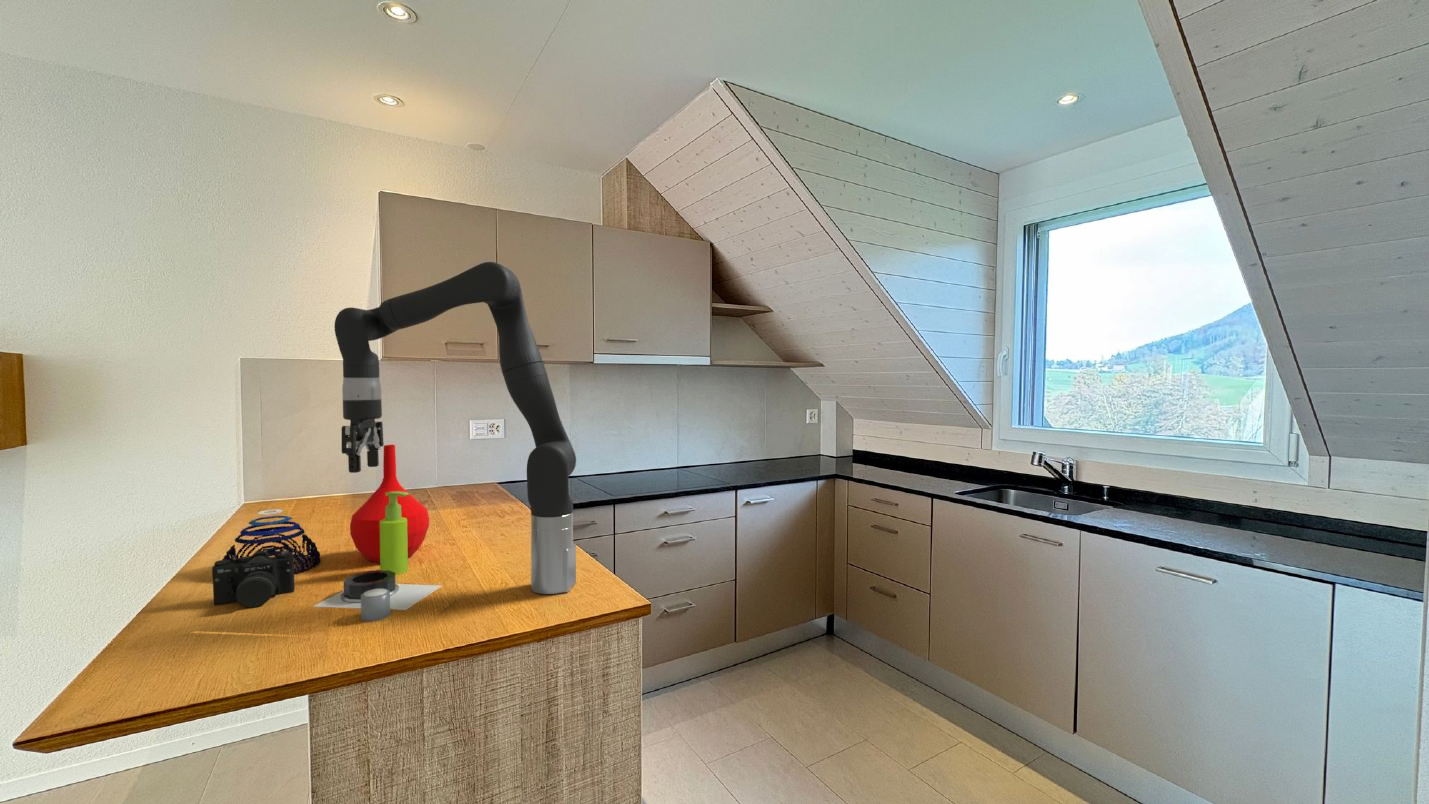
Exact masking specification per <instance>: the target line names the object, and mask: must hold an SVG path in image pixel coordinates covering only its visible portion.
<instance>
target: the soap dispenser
mask: <svg viewBox="0 0 1429 804" xmlns="http://www.w3.org/2000/svg"><path fill="white" fill-rule="evenodd" d="M386 495H389V504H388V505H387V506H386V507H385V518H386V519H383V520H381V521H380V565H379V566H380V568H379V569H380V570H387V571H392V572H395V576H398V575H399V576H400V575H403V574H405V573H408V571H409V558H408V540H407V518H403V517H401V505H399V504H397V496H402V497H405V496H408V495H411V494H410V493H409V492H408V493H406V492H401V491H394V492H388V493H385V496H386Z"/></svg>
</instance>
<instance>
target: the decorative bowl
mask: <svg viewBox="0 0 1429 804" xmlns="http://www.w3.org/2000/svg"><path fill="white" fill-rule="evenodd" d="M281 513H283V509H278V508H277V509H274V508H273V509H267V510H262V511H261V510H260V511H259V512H257V515H260V516H262V517H258V518H255V519H252V520H250V521H249V522H248V525H249V526H246V527H244V528H243V529H241V531H239V533H240V534H238V536H237V537H235V538H234V542H235V543H238V544H241V545H242V546H241V547H240V548H239V549H238V550H237V551H236V549H237V548H236V545H235V544H233V545H231V546H230V548H229V549H228V550H226V554H225V555H224V556H223V558H221V560H231V559H233V557H232V556H233V555H236V558H237V559H238V558H241V557H246V556H251V557H252V558H253V557H254V553H253V554H251V553H252V552H254V551H255V550H256V548H258V547H260V546H261V545H263V546H261V547H260V548H258V549H257V550H256V551H262V550H267V551H268V554H269V557H276V556H277V555H278V554H279V553H281V552H282V551H287V550H288V551H289V552H292V556H293V557H294V560H293V564H294V576H295V575H298V574H299V575H300V574H301V573H305V572H308V571H309V570H311V569H314V568H316V567H318V566H319V565H320V563H321V553H320V551H319V550H318V547H317V543H316V542H314V541H313V540H312V538H310V537H309V536H308V535H307V534H305V529H304V528H303V527H302V526H301V525H300V523H297V522H296V521H291V520H292V519H293V517H292V516H288V515H277V514H281ZM265 515H268V516H265ZM270 515H271V516H270ZM279 518H280V519H279ZM269 519H279V520H273V521H262V520H269ZM273 525H274V526H273ZM276 525H279V526H276ZM281 525H282V526H281ZM290 525H291V526H290ZM266 526H272V527H266ZM259 527H264V528H259ZM255 528H258V529H255ZM252 529H254V530H252ZM295 530H296V531H297V530H298V531H297V532H294V533H291V534H287V535H285V533H288V532H293V531H295ZM300 536H301V538H302V544H301V545H300V544H299V543H297V541H296V540H294V538H298V537H300ZM243 537H253V538H252V539H243ZM269 543H272V544H271V545H270V544H269ZM273 543H275V544H278V545H281V546H278V545H277V546H276V545H274V544H273ZM288 543H289V544H288ZM265 544H269V545H266V546H265ZM290 545H291V546H290ZM251 547H252V548H251ZM250 548H251V549H250ZM297 548H298V549H297ZM249 549H250V550H249ZM302 549H303V551H302ZM246 552H247V554H246ZM305 552H306V554H305ZM245 554H246V555H245ZM244 555H245V556H244ZM295 567H296V568H295Z"/></svg>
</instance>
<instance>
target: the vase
mask: <svg viewBox="0 0 1429 804" xmlns="http://www.w3.org/2000/svg"><path fill="white" fill-rule="evenodd" d="M396 457H397V455H396V445H395V444H385V445H383V465H382V466H383V469H382V470H383V473H382V474H383V478H382V481H381V483H380V485H379V486H378V488H377V489H376V490H375V491H374V492H373V493H372V494H371V496H370V497H369V498H368V499H367V500H366V501H365V502H364V503H363V504H362V505H361V506H360V507H359V508H358V509H357V510H356V511H355V512H354V513H353V514H352V516H351V519H350V520H351V521H350V523H349V524H350V526H349V529H350V530H349V531H350V537H351V538H352V541H353V543H354V545H355V548H356V550H357V551H358V552H359V553H360V554H361V556H363V557H364V558H366V559H367V560H368V561H370V562H372V563H380V521H381V520H383V519H386V518H385V507H386V506H387V505H388V504H389V495H386V496H385V493H388V492H394V491H401V492H406V493H409V492H408V491H407V490H406V489H405V488H404V487H403V486H402V485H401V484H400V482H399V480H398V478H397V459H396ZM397 504H399V505H401V517H403V518H407V540H408V559H409V558H410V557H412V556H413V555H414V554H415V553H416V552H417V551H418V550H419V548H420V547H421V545H422V544H423V542H424V541H425V538H426V536H427V533H428V530H429V527H430V516H429V512H428V509H427V507H425V506H424V505H423V504H422V503H420V502H419V501H418V500H417V499H416V498H415V497H414V496H413V495H412V494H410V495H408V496H405V497H402V496H397Z"/></svg>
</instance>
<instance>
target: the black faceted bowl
mask: <svg viewBox="0 0 1429 804" xmlns="http://www.w3.org/2000/svg"><path fill="white" fill-rule="evenodd" d="M397 584H398V583H396V575H395V572H392V571H387V570H369V571H364V572H359V573H356V574H353V575H350V576H348V577H346V578H345V579H344V581H343V590H344V592H343V593H342V594H341V600H342V601H344V602H348V603H361V595H362V594H363V593H365V592H367V591H369V590H373V589H387V590H389V591H390V596H392V595H394V594H395V593H397V592H398V591H399V586H398V585H397Z"/></svg>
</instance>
